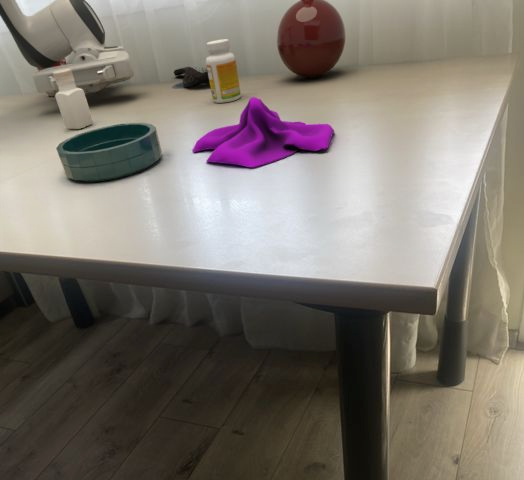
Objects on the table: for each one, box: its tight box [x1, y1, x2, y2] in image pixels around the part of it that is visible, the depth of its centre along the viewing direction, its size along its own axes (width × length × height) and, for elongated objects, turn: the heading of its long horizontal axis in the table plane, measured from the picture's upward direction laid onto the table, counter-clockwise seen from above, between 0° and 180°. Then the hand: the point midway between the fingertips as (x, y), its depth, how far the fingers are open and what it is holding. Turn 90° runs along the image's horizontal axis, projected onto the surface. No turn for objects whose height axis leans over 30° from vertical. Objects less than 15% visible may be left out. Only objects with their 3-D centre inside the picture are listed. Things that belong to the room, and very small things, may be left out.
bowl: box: [55, 122, 163, 183], centre depth 74 cm, size 14×14×4 cm
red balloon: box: [276, 0, 346, 79], centre depth 100 cm, size 13×13×20 cm
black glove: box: [173, 66, 210, 88], centre depth 120 cm, size 8×4×25 cm
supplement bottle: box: [205, 38, 242, 104], centre depth 97 cm, size 5×5×10 cm
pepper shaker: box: [53, 69, 94, 130], centre depth 96 cm, size 4×4×10 cm
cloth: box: [192, 96, 335, 168], centre depth 73 cm, size 22×19×6 cm
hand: (78, 80), depth 105 cm, fingers open, 8 cm apart
